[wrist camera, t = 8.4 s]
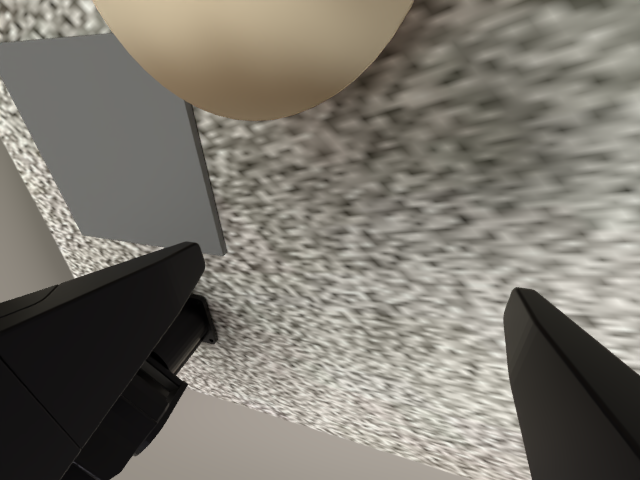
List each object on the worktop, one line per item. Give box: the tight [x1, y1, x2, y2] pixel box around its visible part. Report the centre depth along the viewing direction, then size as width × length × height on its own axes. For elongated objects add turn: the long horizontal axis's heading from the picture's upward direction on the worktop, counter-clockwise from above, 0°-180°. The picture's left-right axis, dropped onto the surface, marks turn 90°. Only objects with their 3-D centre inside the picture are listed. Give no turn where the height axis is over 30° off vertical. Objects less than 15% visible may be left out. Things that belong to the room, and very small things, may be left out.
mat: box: [0, 33, 227, 256], centre depth 25 cm, size 16×16×1 cm
